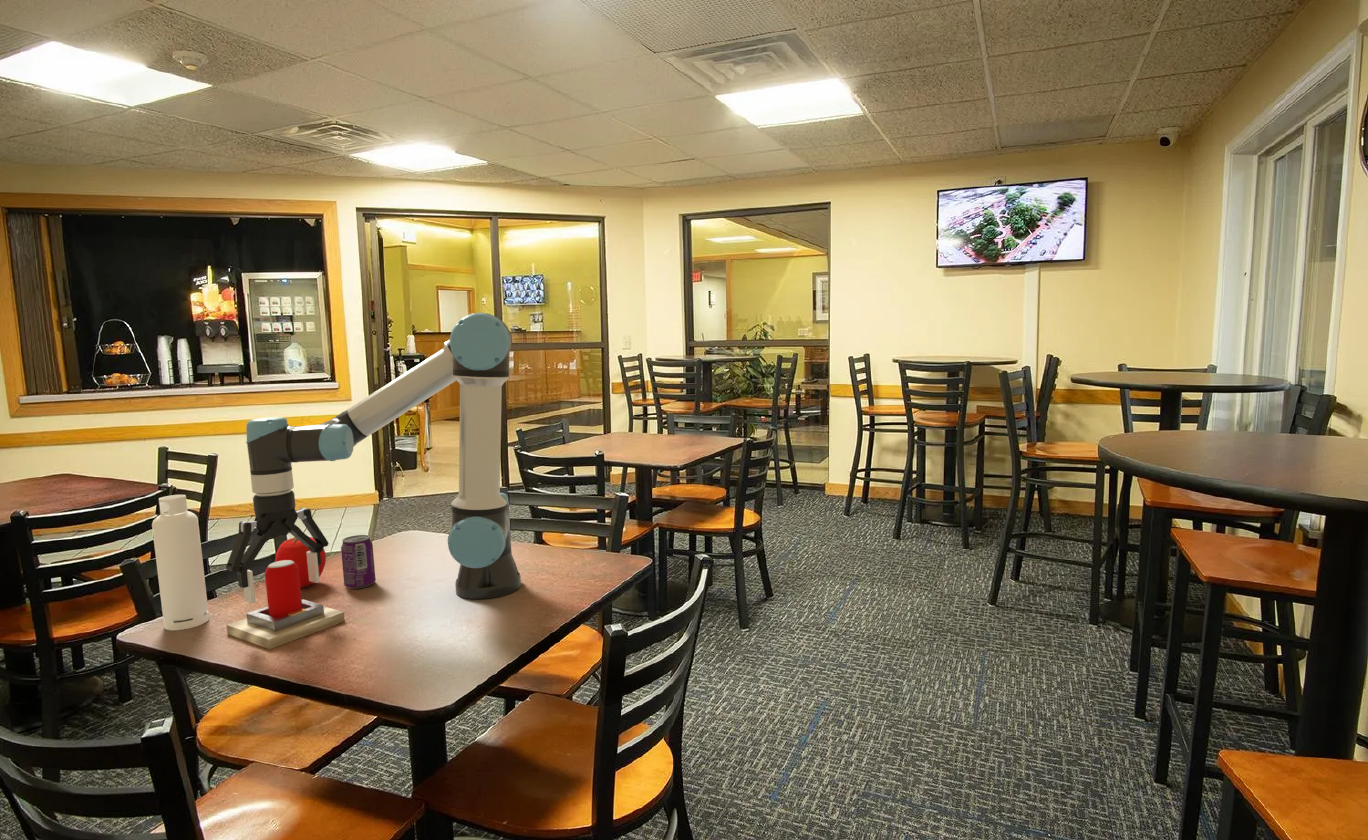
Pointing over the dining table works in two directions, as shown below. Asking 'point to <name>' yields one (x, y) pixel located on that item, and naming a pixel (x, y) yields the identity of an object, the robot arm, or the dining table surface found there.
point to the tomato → (299, 558)
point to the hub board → (285, 635)
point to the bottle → (179, 564)
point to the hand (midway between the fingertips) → (283, 591)
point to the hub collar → (293, 618)
